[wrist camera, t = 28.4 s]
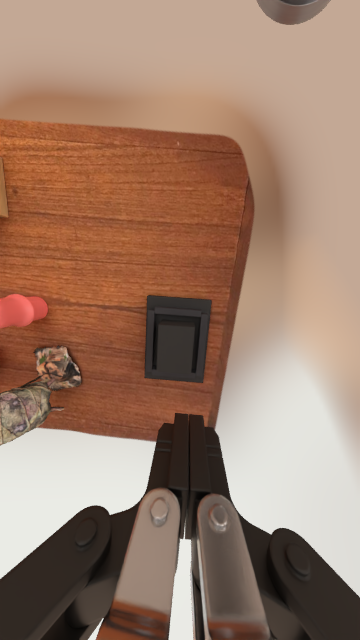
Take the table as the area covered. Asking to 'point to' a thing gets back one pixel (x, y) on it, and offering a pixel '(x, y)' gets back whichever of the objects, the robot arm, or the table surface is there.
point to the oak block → (3, 193)
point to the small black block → (175, 346)
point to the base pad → (185, 312)
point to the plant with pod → (36, 393)
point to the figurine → (21, 310)
